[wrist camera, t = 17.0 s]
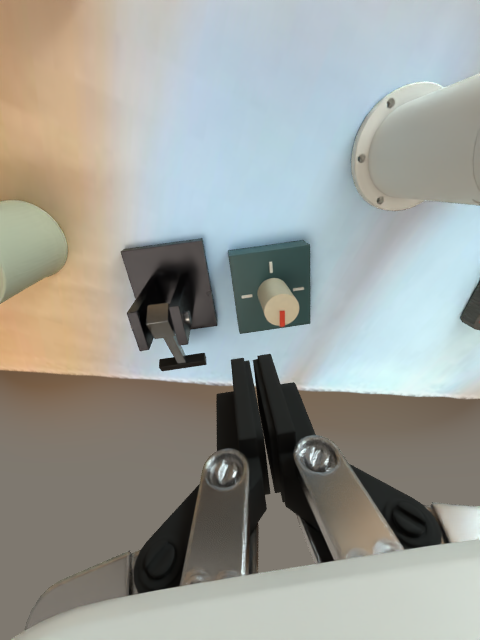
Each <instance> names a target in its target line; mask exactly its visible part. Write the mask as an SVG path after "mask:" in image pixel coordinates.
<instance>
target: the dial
mask: <svg viewBox="0 0 480 640" xmlns="http://www.w3.org/2000/svg"><path fill="white" fill-rule="evenodd" d="M258 298H259V301H260V304H261V307H262V309H263V312H264V315H265V317H266V319H267V320H268V321H269V322H270V323H271V324H273V325H277V326H280V327H284V326H285V325H287V324H289V323H291V322H292V321H293V320H294V319H295V318H296V317H297V315H298V313H299V303H298V301H297V300H296V298H295V297H294V295H293V294H292V292H291V291H290V289H289V288H288V286H287V285H286V284H285V282H284V281H282V280H281V279H278V278H270V279H267V280H265V281H264V282H263V283H262V284H261V285H260V286H259V289H258Z"/></svg>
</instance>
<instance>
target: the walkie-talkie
mask: <svg viewBox="0 0 480 640" xmlns="http://www.w3.org/2000/svg"><path fill="white" fill-rule="evenodd" d="M460 318H461V320H462V322H464V323H465V324H467V325H469V326H471V327H472V328H474V329H477V330H480V282H479V284H478V286H477V288H476V290H475V292H474V294H473V295H472V297H471V299H470V301H469V303H468V305H467V307H466V308H465V310H464V312H463V314H462V316H461V317H460Z"/></svg>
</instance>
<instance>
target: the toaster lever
mask: <svg viewBox="0 0 480 640" xmlns="http://www.w3.org/2000/svg"><path fill="white" fill-rule="evenodd" d="M146 325H147V327H148V329H149V330H150V332H151V333H152V335H153V337H154V338H155V339H158V338H164V340H165V342H166V343H167V345H168V347H169V349H170V351H171V352H172V354H173V356H174V357H173V358H166V359H160V361H159V368H160V369H161V371H167V370H174V369H180V368H187V367H194V366H201V365H206V356H205V353H200V354H193V355H185V353H184V351H183V349H182V347H181V345H178V341H177V338H176V335H175V330H174V326H173V322H172V319H171V315H170V311H169V303H162V304H155V305H148V306H147V317H146Z"/></svg>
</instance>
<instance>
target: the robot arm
mask: <svg viewBox="0 0 480 640" xmlns="http://www.w3.org/2000/svg"><path fill="white" fill-rule="evenodd" d="M387 103H388V107H387ZM358 156H359V157H360V160H359V161H358ZM351 170H352V177H353V181H354V184H355V187H356V189H357V191H358V193H359V194H360V195H361V197H362V198H363V199H364V200H365V201H366V202H367V203H369V204H370V205H371V206H374V207H376V208H378V209H382V210H388V211H399V210H406V209H408V208H411V207H414V206H416V205H418V204H420V203H422V202H424V201H425V200H427V201H437V202H447V203H458V204H468V205H479V206H480V73H479V74H477V75H474V76H472V77H469V78H467V79H464V80H462V81H459V82H457V83H454V84H452V85H449V86H447V87H442V86H441V85H439V84H435V83H432V82H415V83H411V84H407V85H405V86H403V87H401V88H398V89H396V90H395V91H393V92H391V93H390V94H388V95H386V96H385V97H384V98H383V99H382V100H381V101H379V102H378V103H377V104H376V105H375V106H374V108H373V109H372V110H371V111H370V112H369V114H368V115H367V116H366V118H365V120H364V121H363V123H362V125H361V126H360V129H359V131H358V134H357V136H356V138H355V142H354V146H353V150H352V158H351ZM377 199H378V201H377ZM253 364H254V372H255V381H256V389H257V397H258V404H257V399H256V394H255V388H254V383H253V378H252V373H251V368H250V362H249V361H244V358H239V359H232V360H231V366H232V377H233V388H234V391H233V392H226V393H220V394H217V452H215V453H213V454H212V455H211V456H210V457H209V458H208V459H207V461H206V462H205V464H204V467H203V470H202V475H201V481H200V484H199V485H198V486H197V487H196V489H195V490H194V491H193V492H192V493H191V494H190V495H189V496H188V497H187V498H186V500H185V501H184V502H183V503H182V504H181V505H180V506H179V507H178V509H176V510H175V512H174V513H173V514H172V515H171V516H170V517H169V518H168V519H167V520H166V521H165V522H164V523H163V525H162V526H161V527H160V528H159V529H158V530H157V531H156V532H155V533H154V534H153V536H152V537H151V538H150V539H149V540H148V541H147V542H146V544H145V545H144V546H143V548H142V549H141V550H139V551H137V552H135V553H132V554H131V552H130V551H128V552H126V553H123V554H121V555H119V556H116V557H114V558H111V559H109V560H107V561H104V562H102V563H100V564H97V565H95V566H93V567H90V568H88V569H86V570H84V571H81V572H79V573H77V574H74V575H72V576H69V577H67V578H65V579H63V580H60V581H59V582H57V583H55V584H54V585H52V586H51V587H49V588H48V589H47V591H45V592H44V594H43V595H41V596H40V598H39V599H38V601H37V602H36V604H35V606H34V607H33V609H32V610H31V613H30V615H29V618H28V621H27V623H26V627H25V631H24V632H22V633H20V634H18V635H17V636H16V637H14V638H13V639H11V640H480V507H478V506H467V505H456V504H445V503H433V502H432V505H431V506H428V505H422V504H421V503H420V502H418V501H416V500H415V499H413V498H412V497H410V496H408V495H406V494H404V493H402V492H400V491H398V490H396V489H394V488H393V487H391V486H389V485H387V484H386V483H384V482H382V481H380V480H378V479H376V478H374V477H372V476H371V475H369V474H367V473H365V472H363V471H361V470H359V469H358V468H356V467H354V466H352V465H350V464H349V463H348V462H347V460H346V459H345V457H344V456H343V454H342V452H341V451H340V449H339V448H338V447H337V446H336V445H335V443H334V442H332V441H331V440H329V439H328V438H325V437H322V436H316V435H315V432H314V430H313V427H312V424H311V422H310V420H309V417H308V415H307V412H306V409H305V407H304V404H303V402H302V399H301V397H300V394H299V392H298V389H297V387H296V384H295V383H294V382H293V383H286V384H280V382H279V379H278V375H277V372H276V369H275V366H274V363H273V360H272V357H271V354H266V355H260V356H258V359H256V360H253ZM258 406H259V409H258ZM259 413H260V414H259ZM260 418H261V420H260ZM261 423H262V425H261ZM262 429H263V430H262ZM263 434H264V436H263ZM264 439H265V444H266V449H267V454H268V460H269V465H270V469H271V475H272V479H273V485H274V491H275V493H279V492H281V496H282V500H283V502H285V505H286V507H287V508H289V509H290V510H292V511H293V512H294V513H296V515H297V519H298V522H299V525H300V527H301V530H302V532H303V535H304V537H305V540H306V542H307V545H308V548H309V550H310V553H311V555H312V558H313V560H314V563H315V564H313V565H306V566H300V567H295V568H288V569H282V570H276V571H269V572H264V573H258V542H259V541H258V540H259V539H258V537H259V536H258V535H259V527H258V521H259V520H260V518H261V517H262V515H263V514H264V512H265V511H266V509H267V508H266V501H265V495H266V494H270V487H269V478H268V470H267V461H266V452H265V445H264Z"/></svg>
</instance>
